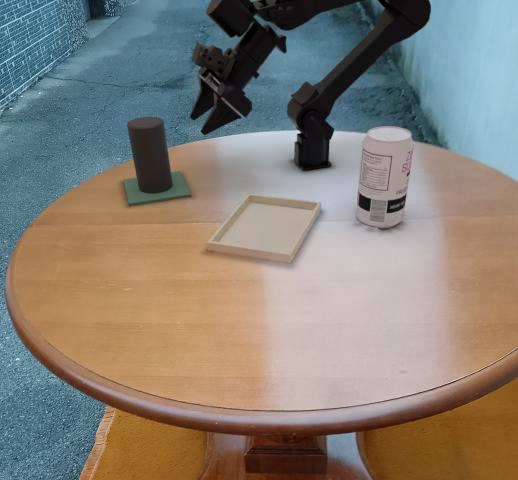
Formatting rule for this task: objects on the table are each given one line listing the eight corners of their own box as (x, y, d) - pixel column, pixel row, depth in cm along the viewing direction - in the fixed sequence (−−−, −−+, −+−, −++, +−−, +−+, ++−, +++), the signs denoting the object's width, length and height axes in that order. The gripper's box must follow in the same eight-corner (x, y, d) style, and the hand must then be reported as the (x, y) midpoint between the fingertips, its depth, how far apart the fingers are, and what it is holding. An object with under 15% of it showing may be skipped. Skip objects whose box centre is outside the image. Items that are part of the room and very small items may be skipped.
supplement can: (351, 210, 98) (357, 126, 88) (395, 207, 99) (407, 123, 89) (361, 231, 92) (369, 144, 82) (408, 228, 92) (422, 140, 83)
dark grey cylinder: (179, 184, 108) (171, 120, 100) (156, 196, 104) (144, 130, 96) (155, 176, 111) (145, 114, 103) (131, 188, 107) (119, 124, 99)
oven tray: (248, 202, 102) (248, 193, 101) (321, 212, 98) (321, 202, 97) (207, 252, 88) (206, 242, 87) (290, 265, 84) (290, 254, 83)
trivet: (180, 173, 114) (180, 170, 113) (191, 196, 105) (190, 193, 105) (123, 182, 111) (123, 179, 111) (129, 206, 103) (128, 203, 102)
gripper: (203, 15, 101) (154, 85, 105) (230, 33, 87) (173, 113, 92) (245, 57, 107) (198, 121, 112) (276, 80, 94) (221, 152, 98)
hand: (196, 126), depth 103 cm, fingers open, 9 cm apart
